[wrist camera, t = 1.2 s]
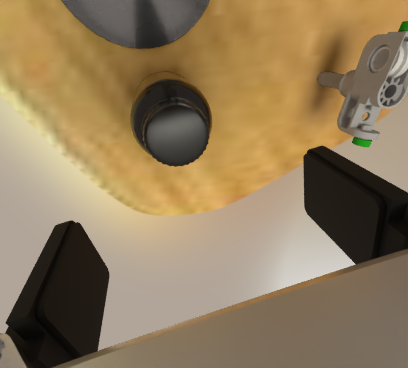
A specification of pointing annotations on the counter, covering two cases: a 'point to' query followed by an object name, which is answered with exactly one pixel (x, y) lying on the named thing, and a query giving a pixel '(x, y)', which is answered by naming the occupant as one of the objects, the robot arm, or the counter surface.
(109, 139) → the counter surface
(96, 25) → the plate
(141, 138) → the supplement bottle
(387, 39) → the mechanical component
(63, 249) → the robot arm
